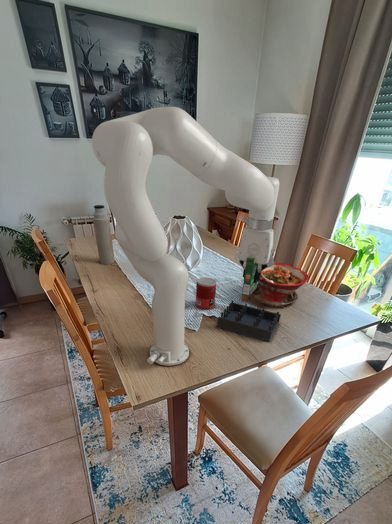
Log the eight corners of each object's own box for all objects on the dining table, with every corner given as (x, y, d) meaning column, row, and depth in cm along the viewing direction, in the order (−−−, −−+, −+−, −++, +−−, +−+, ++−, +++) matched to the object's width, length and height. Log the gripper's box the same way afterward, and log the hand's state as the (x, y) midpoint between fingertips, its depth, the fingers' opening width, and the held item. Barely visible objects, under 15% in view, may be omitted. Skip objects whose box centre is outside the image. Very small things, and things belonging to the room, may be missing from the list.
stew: (267, 318, 114) (275, 280, 105) (230, 294, 130) (234, 259, 121) (313, 302, 127) (324, 267, 117) (274, 283, 143) (281, 250, 133)
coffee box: (249, 297, 98) (254, 258, 90) (241, 295, 99) (246, 257, 91) (257, 288, 104) (263, 251, 96) (249, 286, 105) (254, 250, 97)
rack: (278, 323, 111) (281, 310, 108) (269, 341, 101) (272, 328, 98) (230, 311, 118) (231, 298, 115) (217, 326, 108) (218, 313, 104)
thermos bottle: (116, 259, 161) (109, 204, 144) (112, 264, 155) (105, 207, 138) (102, 258, 161) (93, 203, 144) (97, 264, 154) (88, 206, 138)
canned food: (213, 311, 117) (215, 286, 111) (193, 308, 119) (194, 283, 112) (215, 302, 124) (217, 278, 117) (197, 300, 125) (198, 276, 118)
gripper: (230, 222, 88) (224, 279, 99) (283, 230, 82) (271, 290, 93) (238, 218, 93) (232, 272, 104) (289, 225, 88) (277, 282, 99)
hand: (251, 280), depth 99 cm, fingers closed on coffee box, 3 cm apart
